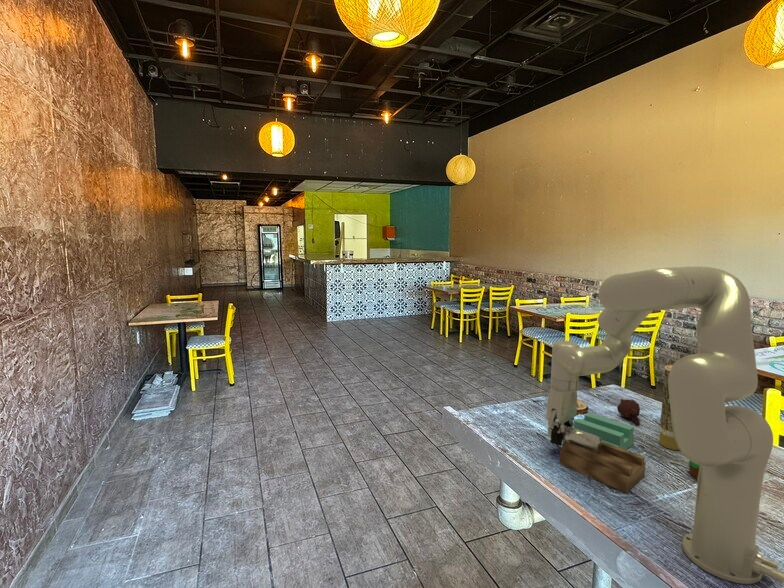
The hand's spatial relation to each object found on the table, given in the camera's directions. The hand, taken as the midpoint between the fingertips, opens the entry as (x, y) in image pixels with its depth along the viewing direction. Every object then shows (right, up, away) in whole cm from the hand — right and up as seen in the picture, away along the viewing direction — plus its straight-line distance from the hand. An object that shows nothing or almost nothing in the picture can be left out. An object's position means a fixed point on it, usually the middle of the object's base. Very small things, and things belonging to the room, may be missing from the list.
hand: (561, 440), depth 123 cm
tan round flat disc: (+17, 0, +34) cm, 38 cm away
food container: (+33, -6, -11) cm, 35 cm away
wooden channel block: (+7, -5, -9) cm, 13 cm away
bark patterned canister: (+37, -4, +5) cm, 37 cm away
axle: (+2, 0, -3) cm, 4 cm away
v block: (+16, -3, +7) cm, 18 cm away
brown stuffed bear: (+35, -1, +26) cm, 44 cm away
